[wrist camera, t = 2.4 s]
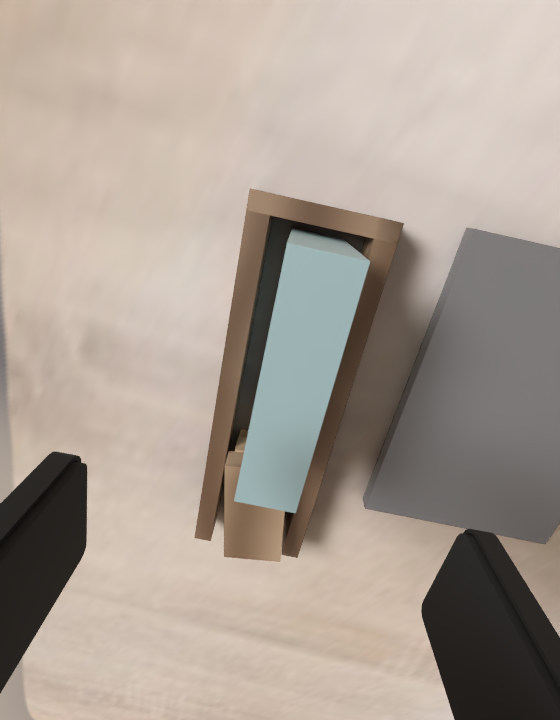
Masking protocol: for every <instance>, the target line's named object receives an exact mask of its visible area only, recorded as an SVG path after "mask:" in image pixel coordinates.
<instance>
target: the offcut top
mask: <svg viewBox="0 0 560 720" xmlns="http://www.w3.org/2000/svg"><path fill="white" fill-rule="evenodd" d="M243 455H244V452H234V451H229V452H228V456H227V459H226V463H225V485H224V557H232V558H243V559H254V560H265V561H277V562H280V559H281V548H282V537H283V526H284V515H285V511H281V510H276V509H271V508H266V507H261V506H256V505H251V504H246V503H241V502H236V501H234V499H235V494H236V489H237V484H238V479H239V474H240V469H241V464H242V460H243Z"/></svg>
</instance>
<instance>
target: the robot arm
mask: <svg viewBox="0 0 560 720" xmlns="http://www.w3.org/2000/svg"><path fill="white" fill-rule="evenodd" d="M86 533H87V465H86V464H84V463H81V458H80V456H76V455H71V454H66V453H60V452H52V453H51V454H49V455H48V456H47V457H46V458H45V459H44V460H43V461H42V462H41V463H40V464H39V465H38V466H37V467H36V468H35V469H34V470H33V471H32V472H31V473H30V474H29V475H28V476H27V477H26V478H25V479H24V480H23V481H22V482H21V484H20V485H19V486H18V487H17V488H16V489H15V490H14V491H13V492H12V493H11V494H10V495H9V496H8V497H7V498H6V499H5V500H4V501H3V502H2V503H0V693H1V691H2V690H3V688H4V686H5V685H6V683H7V681H8V679H9V678H10V676H11V675H12V673H13V671H14V670H15V668H16V666H17V665H18V663H19V661H20V660H21V658H22V656H23V655H24V653H25V652H26V650H27V648H28V647H29V645H30V643H31V642H32V640H33V638H34V637H35V635H36V633H37V632H38V630H39V628H40V627H41V625H42V623H43V622H44V620H45V618H46V617H47V615H48V613H49V612H50V610H51V608H52V607H53V605H54V603H55V602H56V600H57V598H58V597H59V595H60V593H61V592H62V590H63V588H64V587H65V585H66V583H67V582H68V580H69V578H70V577H71V575H72V574H73V572H74V570H75V569H76V567H77V565H78V564H79V562H80V560H81V558H82V556H83V554H84V551H85V548H86ZM422 618H423V622H424V625H425V628H426V631H427V634H428V637H429V640H430V644H431V647H432V650H433V653H434V656H435V659H436V662H437V666H438V669H439V672H440V675H441V678H442V681H443V685H444V688H445V691H446V694H447V697H448V700H449V703H450V707H451V710H452V713H453V716H454V719H455V720H560V637H559V636H558V634H557V632H556V631H555V629H554V628H553V626H552V624H551V623H550V621H549V620H548V618H547V616H546V615H545V613H544V612H543V610H542V608H541V607H540V605H539V604H538V602H537V600H536V599H535V597H534V595H533V594H532V592H531V591H530V589H529V587H528V586H527V584H526V583H525V581H524V579H523V578H522V576H521V575H520V573H519V571H518V570H517V568H516V567H515V565H514V563H513V562H512V560H511V559H510V557H509V555H508V554H507V552H506V551H505V549H504V547H503V546H502V544H501V543H500V541H499V539H498V538H497V537H496V535H495V534H493V533H491V532H485V531H480V530H474V529H467V530H465V532H464V533H463V534H462V533H461V534H459V535H458V536H457V538H456V540H455V542H454V544H453V546H452V547H451V549H450V551H449V553H448V555H447V557H446V559H445V561H444V563H443V565H442V566H441V568H440V570H439V572H438V574H437V576H436V578H435V580H434V582H433V584H432V585H431V587H430V589H429V591H428V593H427V595H426V597H425V599H424V601H423V603H422Z"/></svg>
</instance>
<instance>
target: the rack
mask: <svg viewBox="0 0 560 720" xmlns="http://www.w3.org/2000/svg"><path fill="white" fill-rule="evenodd" d="M273 216H275V217H280V218H284V219H289V220H293V221H297V222H302V223H306V224H311V225H315V226H320V227H324V228H329V229H333V230H338V231H342V232H347V233H351V234H356V235H360V236H365V237H366V238H365V241H364V245H363V248H362V252H361V254H362V255H363V256H364V257H366V258H367V259H368V260H369V261H370V264H369V267H368V271H367V274H366V278H365V281H364V284H363V288H362V291H361V294H360V298H359V301H358V305H357V308H356V311H355V315H354V318H353V321H352V325H351V328H350V332H349V335H348V338H347V342H346V345H345V348H344V352H343V355H342V359H341V362H340V365H339V369H338V372H337V376H336V379H335V382H334V386H333V389H332V392H331V396H330V399H329V403H328V406H327V409H326V413H325V416H324V419H323V423H322V426H321V430H320V433H319V436H318V440H317V443H316V446H315V450H314V453H313V457H312V460H311V463H310V467H309V470H308V474H307V477H306V480H305V484H304V487H303V490H302V494H301V497H300V501H299V504H298V507H297V511H296V513H291V512H287V516H286V519H285V523H284V527H283V539H282V555H286V556H291V557H296V558H297V557H298V554H299V551H300V548H301V545H302V542H303V539H304V535H305V532H306V529H307V526H308V523H309V520H310V517H311V513H312V510H313V507H314V504H315V501H316V498H317V495H318V491H319V488H320V485H321V482H322V479H323V476H324V473H325V469H326V466H327V463H328V460H329V457H330V454H331V451H332V447H333V444H334V441H335V438H336V435H337V432H338V429H339V425H340V422H341V419H342V416H343V413H344V410H345V407H346V403H347V400H348V397H349V394H350V391H351V388H352V385H353V381H354V378H355V375H356V372H357V369H358V366H359V363H360V359H361V356H362V353H363V350H364V347H365V344H366V341H367V338H368V334H369V331H370V328H371V325H372V322H373V319H374V316H375V312H376V309H377V306H378V303H379V300H380V297H381V294H382V290H383V287H384V284H385V281H386V278H387V275H388V272H389V268H390V265H391V262H392V259H393V256H394V253H395V250H396V246H397V243H398V240H399V237H400V234H401V231H402V228H403V224H404V223H401V222H396V221H392V220H387V219H383V218H378V217H374V216H369V215H365V214H361V213H356V212H352V211H347V210H343V209H338V208H334V207H330V206H325V205H321V204H316V203H312V202H307V201H303V200H298V199H294V198H290V197H285V196H281V195H276V194H272V193H267V192H263V191H258V190H254V189H250V191H249V197H248V204H247V210H246V216H245V223H244V229H243V235H242V241H241V248H240V254H239V260H238V267H237V273H236V279H235V286H234V292H233V298H232V305H231V311H230V317H229V324H228V330H227V336H226V343H225V349H224V355H223V361H222V368H221V374H220V380H219V387H218V393H217V399H216V406H215V412H214V418H213V425H212V431H211V437H210V444H209V450H208V456H207V463H206V469H205V475H204V481H203V488H202V494H201V500H200V507H199V513H198V519H197V526H196V532H195V538H198V539H203V540H208V541H211V537H212V534H213V530H214V526H215V522H216V519H217V515H218V509H219V504H220V499H221V493H222V488H223V482H224V477H225V463H226V459H227V456H228V452H229V450H230V445H231V439H232V434H233V429H234V423H235V418H236V412H237V407H238V402H239V396H240V391H241V385H242V380H243V375H244V369H245V364H246V359H247V353H248V348H249V342H250V337H251V332H252V326H253V321H254V315H255V310H256V305H257V299H258V294H259V289H260V283H261V278H262V272H263V267H264V262H265V256H266V251H267V245H268V240H269V235H270V229H271V224H272V219H273Z"/></svg>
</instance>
